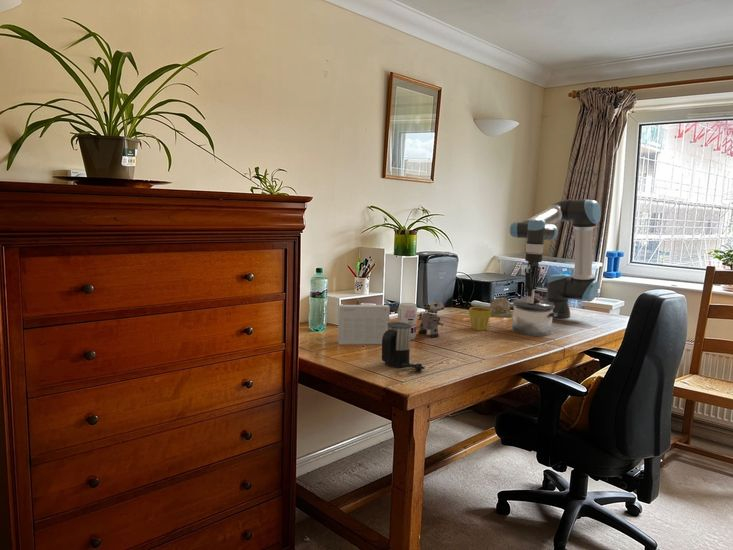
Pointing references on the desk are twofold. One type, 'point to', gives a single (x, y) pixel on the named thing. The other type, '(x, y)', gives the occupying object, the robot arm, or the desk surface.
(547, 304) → the lid
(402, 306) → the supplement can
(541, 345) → the desk surface
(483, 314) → the plant pot
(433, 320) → the figurine
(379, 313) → the skincare box
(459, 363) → the desk surface
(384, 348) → the milk frother
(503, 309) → the ceramic model
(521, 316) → the cooker pot
